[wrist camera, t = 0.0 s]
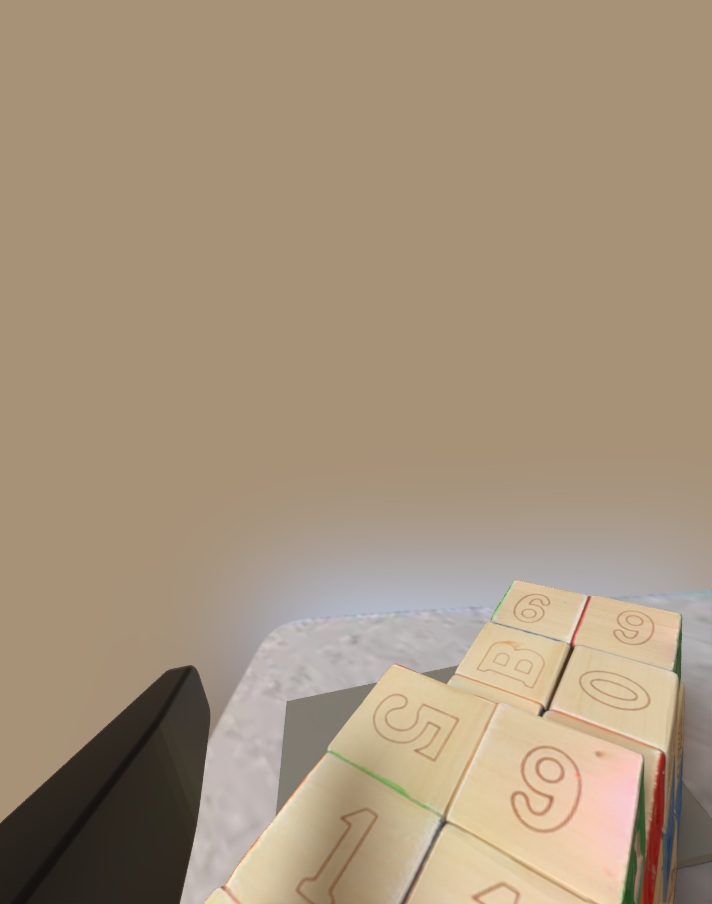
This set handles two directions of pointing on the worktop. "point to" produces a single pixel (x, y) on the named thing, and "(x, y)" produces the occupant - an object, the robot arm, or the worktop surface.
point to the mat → (327, 713)
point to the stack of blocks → (498, 772)
